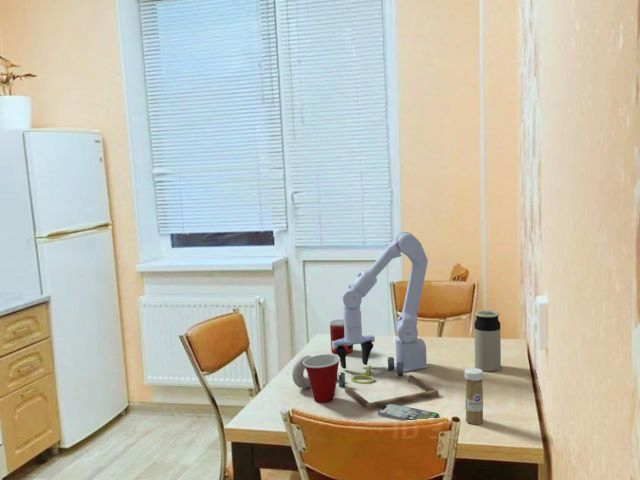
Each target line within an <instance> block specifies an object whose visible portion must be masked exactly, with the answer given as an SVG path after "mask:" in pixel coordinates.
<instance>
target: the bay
mask: <svg viewBox="0 0 640 480" xmlns="http://www.w3.org/2000/svg"><path fill="white" fill-rule="evenodd" d="M407 376H408V377H407V381H408V382H410V383H411V384H413V385H415V386H417V387H418V388H420V389H422V390H423V392H417V393H412V394H407V395H402V396H397V397H393V398H392V397H391V398H388V399H382V400H377V401H373V402H369V401H368V400H367V399H366V398H364V397H363V396H361V395H360V394H359V393H357V392H356V391H355V390H353V389H352V388H351V387H350V386H345V387H344V393H345V394H346V395H348V397H350V398H352V399H353V400H354V401H355V402H357V404H359V405H360V406H361V407H363V408H364V409H365V410H366V411H371V410H378V409H381V408H383V407H384V406H385V405H386V404H395V405H401V404H406V403H410V402H411V403H412V402H416V401H422V400H426V399H432V398H435V397H439V391H438V389H436V388H434V387H433V386H431V385H429V384H427V383H425V382H424V381H422V380H421V379H419V378H418V377H415V376H413V375H412V374H411V375H407Z"/></svg>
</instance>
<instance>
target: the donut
mask: <svg viewBox="0 0 640 480" xmlns="http://www.w3.org/2000/svg"><path fill="white" fill-rule="evenodd" d="M309 357H313V356H312V355H310V354H309V355H303V356H301V357H299V358H298V359H297V360H296V362H295V363H294V364H293V368H292V375H291V376H292V380H293V382H294V385H296V386H297V387H298V388H300V389H308V388H311V386H310V381H309V377H308V373H307V374H306V375H304V373H305V372H304V371H306V367H305V366H304V365H303V361H304V360H305V359H307V358H309Z"/></svg>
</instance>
